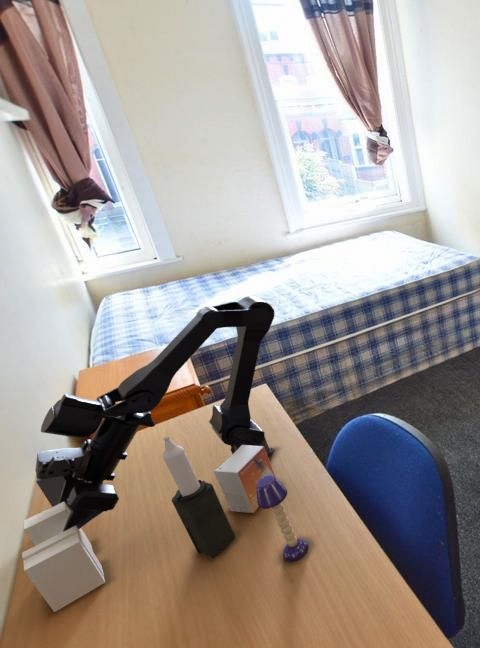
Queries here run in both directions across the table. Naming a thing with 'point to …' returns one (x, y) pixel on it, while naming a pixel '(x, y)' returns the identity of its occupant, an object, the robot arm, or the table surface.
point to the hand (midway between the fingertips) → (62, 523)
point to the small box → (243, 477)
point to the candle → (197, 504)
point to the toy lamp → (280, 515)
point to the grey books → (52, 489)
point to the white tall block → (48, 524)
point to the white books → (63, 568)
